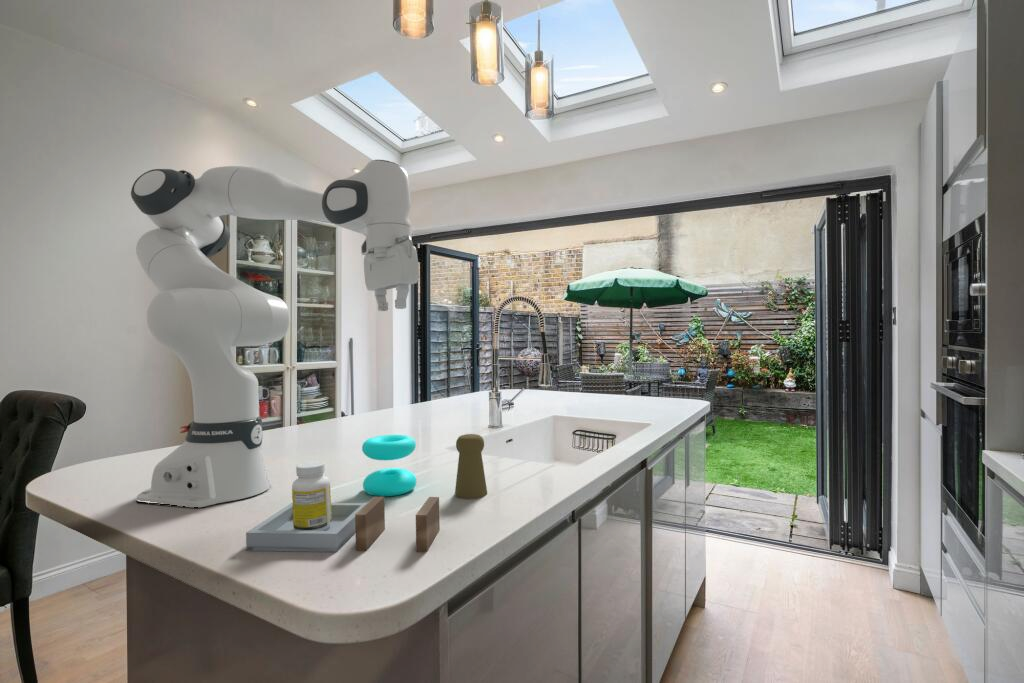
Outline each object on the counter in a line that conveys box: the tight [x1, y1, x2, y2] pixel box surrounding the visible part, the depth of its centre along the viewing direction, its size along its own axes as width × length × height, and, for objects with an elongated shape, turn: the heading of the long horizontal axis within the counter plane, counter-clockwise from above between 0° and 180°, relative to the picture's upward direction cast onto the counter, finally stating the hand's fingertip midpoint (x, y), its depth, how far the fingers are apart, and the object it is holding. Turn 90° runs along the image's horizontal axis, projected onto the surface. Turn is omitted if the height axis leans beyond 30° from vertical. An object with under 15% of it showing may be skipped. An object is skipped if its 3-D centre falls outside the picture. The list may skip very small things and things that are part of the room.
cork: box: [454, 433, 488, 500], centre depth 98 cm, size 6×6×11 cm
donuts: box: [361, 434, 417, 497], centre depth 101 cm, size 10×10×10 cm
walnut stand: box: [355, 496, 441, 553], centre depth 76 cm, size 10×8×5 cm
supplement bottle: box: [291, 460, 332, 531], centre depth 80 cm, size 5×5×10 cm
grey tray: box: [245, 502, 368, 553], centre depth 79 cm, size 13×13×2 cm
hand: (391, 309), depth 107 cm, fingers open, 8 cm apart
